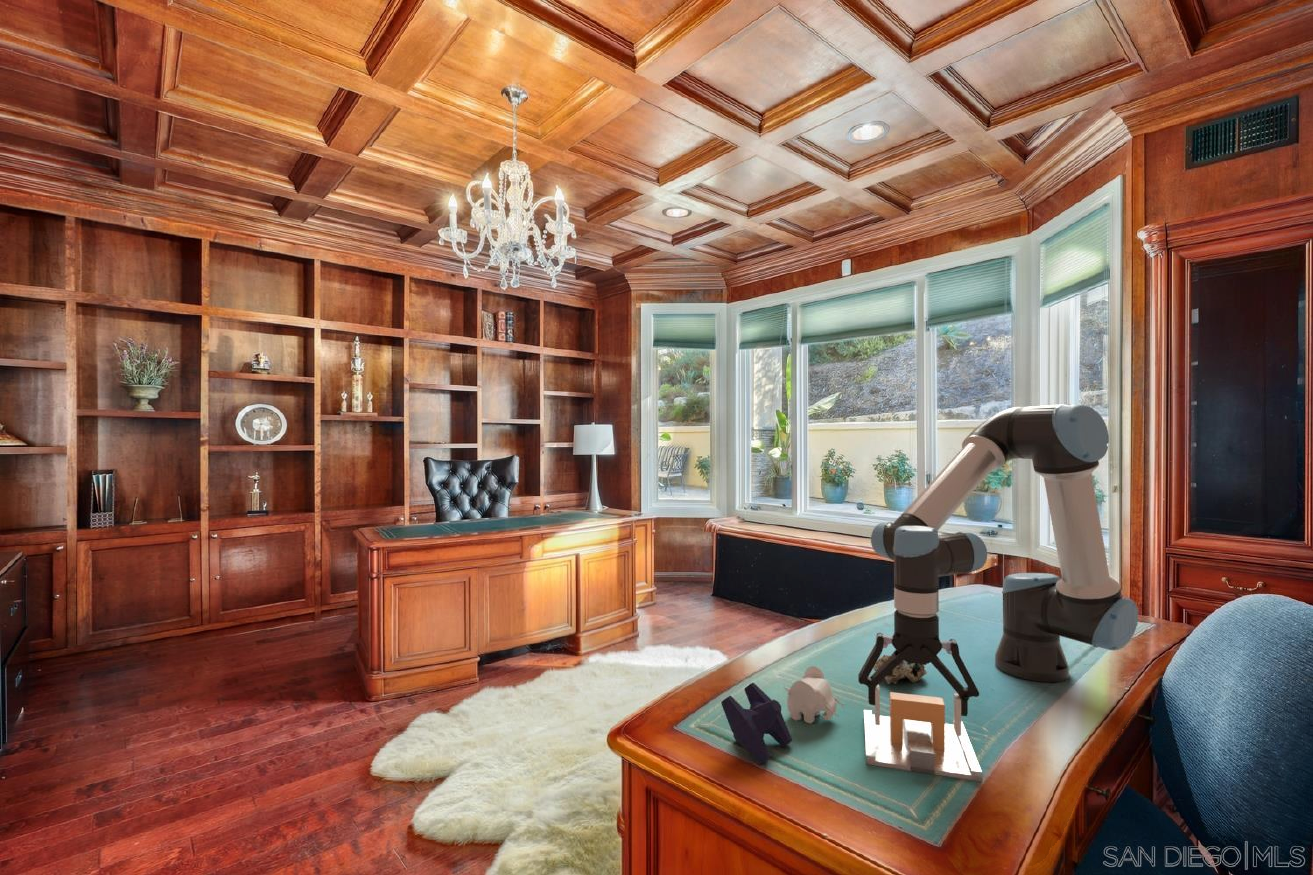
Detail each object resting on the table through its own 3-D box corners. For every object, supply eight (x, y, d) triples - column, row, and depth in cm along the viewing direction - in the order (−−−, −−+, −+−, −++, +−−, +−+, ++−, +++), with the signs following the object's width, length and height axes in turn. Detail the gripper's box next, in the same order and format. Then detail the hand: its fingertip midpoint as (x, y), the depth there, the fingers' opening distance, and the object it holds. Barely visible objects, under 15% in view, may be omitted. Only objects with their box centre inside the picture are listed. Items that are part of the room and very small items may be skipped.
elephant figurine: (835, 735, 115) (834, 689, 115) (775, 720, 121) (775, 676, 121) (848, 715, 123) (847, 671, 123) (791, 701, 129) (791, 660, 129)
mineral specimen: (897, 688, 133) (908, 653, 134) (864, 671, 141) (874, 638, 142) (928, 695, 140) (938, 662, 140) (895, 678, 147) (905, 646, 148)
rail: (962, 729, 116) (962, 711, 116) (981, 781, 99) (981, 760, 99) (863, 717, 122) (863, 700, 122) (866, 764, 105) (866, 744, 105)
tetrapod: (806, 742, 110) (792, 679, 112) (772, 770, 101) (757, 701, 103) (756, 739, 118) (743, 679, 119) (720, 764, 109) (706, 699, 111)
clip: (942, 741, 111) (942, 697, 111) (944, 749, 108) (944, 704, 108) (890, 734, 113) (889, 691, 113) (891, 742, 110) (890, 698, 110)
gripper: (987, 611, 110) (988, 726, 110) (844, 600, 118) (845, 708, 118) (997, 623, 103) (998, 747, 103) (844, 611, 111) (845, 726, 111)
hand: (916, 727), depth 110 cm, fingers open, 13 cm apart
